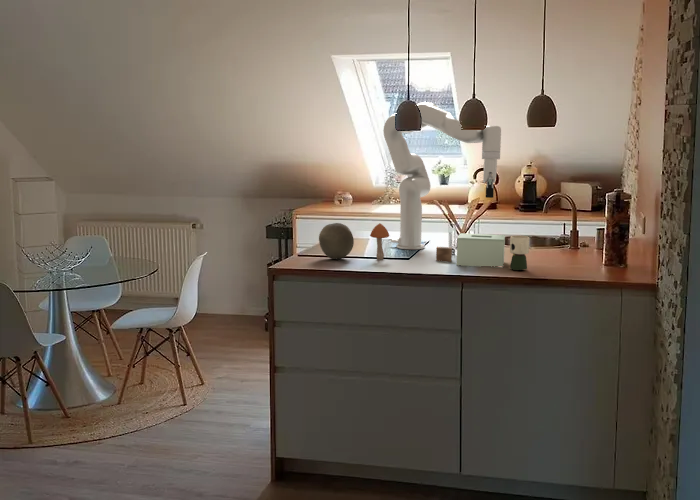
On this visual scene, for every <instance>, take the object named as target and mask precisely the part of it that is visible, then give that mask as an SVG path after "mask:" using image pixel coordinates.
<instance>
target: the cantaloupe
mask: <svg viewBox="0 0 700 500" xmlns="http://www.w3.org/2000/svg"><path fill="white" fill-rule="evenodd" d="M318 243H319V246H320V249H321V250H322V253H324V255H325V256H326V257H328V258H329V259H332V260H341V259H344V258H346V257H347V256H348V255H349V254H350V253H351V251H352V250H353V248H354V245H355V241H354V235H353V232H352V231H351V229H350V228H349V226H347V225H345V224H343V223H341V222H333V223H329V224H326V225H324V227H323V228H322V229H321V231H320V232H319V235H318Z"/></svg>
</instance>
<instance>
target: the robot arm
mask: <svg viewBox="0 0 700 500" xmlns="http://www.w3.org/2000/svg"><path fill="white" fill-rule="evenodd" d="M416 105H417V106H418V108H419V110H420V112H421V116H422V128H425V127H427V126H428V127H430V128H433V129H435V130H438V131H440V132H442V133H443V134H445V135H447V136H448V137H450V138H452V139H455V140H457V141H460V142H463V143H465V144H479V143H482V146H481V148H482V149H481V160H483V179H482V180H483V183H484V184H485V183H486V187H485V198H487V199H492V198H494V194H495V193H494V192H495V189H494V187H495V186H494V184H495V183H496V178H497V169H498V160H500V159H501V147H502V146H501V143H502V141H501V140H502V127H501V126H499V125H485V126H486V128H485V129H484V130H461V129H463V128H461V127H462V125H461V124H460V121H461V120H458V119H456V118H455V117H453V114H451V112H449V111H446V110H444V109H442V108H439V106H438V105H436V104H434V103H432V102H419V103H417V104H416ZM395 114H396V113H394V114H392V115H390V116H389V117H388V118H386V120H385V122H384V126H383V130H382V131H383V137H384V140H385V143H386V146H387V148H388V151H389V155H390V158H391V160H392V163H393V167H394V169H395V172H396V173H397V174H398V175H400V176H407V177H406V178H404V179H402V181H401V182H400V184H399V187H398V193H399V200H400V201H399V202H400V203H399V204H400V218H399V219H400V223H399V224H400V226H399V227H400V228H399V237H397V238H396V237H395V238H394V237H390V240H389V241H390V243H396V249H400V250H422V249H425V248H426V247H425V244H422V222H423V221H422V219H423V218H422V217H423V215H422V214H423V207H422V206H423V205H422V200H421V198H423V197H426V196H428V195H429V193H430V191H431V181H430V178H429V175H428V172H427V169H426V166H425V163H424V161H423V159H422V158H421V156H420V155H418V154H416V153H411V151H410V149H409V146H408V142H407V141H406V139H405V137H404V136H403V133H406V134H407V133H412V132H414V131H397V130H396V129H395ZM459 125H460V126H459ZM422 128H421V129H422Z"/></svg>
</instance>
